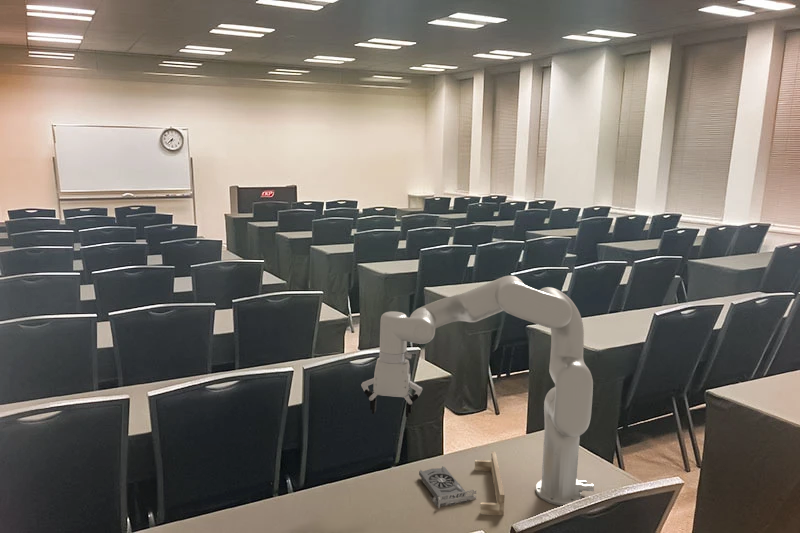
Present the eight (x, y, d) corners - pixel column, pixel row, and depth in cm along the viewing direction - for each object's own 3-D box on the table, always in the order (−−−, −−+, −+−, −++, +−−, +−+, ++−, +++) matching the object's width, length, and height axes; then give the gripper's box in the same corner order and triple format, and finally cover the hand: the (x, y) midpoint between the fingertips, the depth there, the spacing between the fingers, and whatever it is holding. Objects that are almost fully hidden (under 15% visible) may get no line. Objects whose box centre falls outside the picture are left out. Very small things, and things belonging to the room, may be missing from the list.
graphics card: (478, 491, 158) (438, 498, 153) (477, 503, 158) (438, 511, 154) (452, 462, 173) (416, 468, 169) (452, 473, 174) (415, 479, 170)
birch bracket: (494, 469, 174) (495, 451, 173) (503, 515, 152) (504, 494, 150) (474, 468, 174) (475, 450, 173) (480, 514, 152) (481, 493, 151)
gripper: (425, 354, 160) (422, 411, 163) (365, 349, 162) (363, 405, 165) (422, 363, 153) (419, 422, 156) (359, 358, 155) (358, 416, 158)
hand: (390, 413), depth 161 cm, fingers open, 9 cm apart
